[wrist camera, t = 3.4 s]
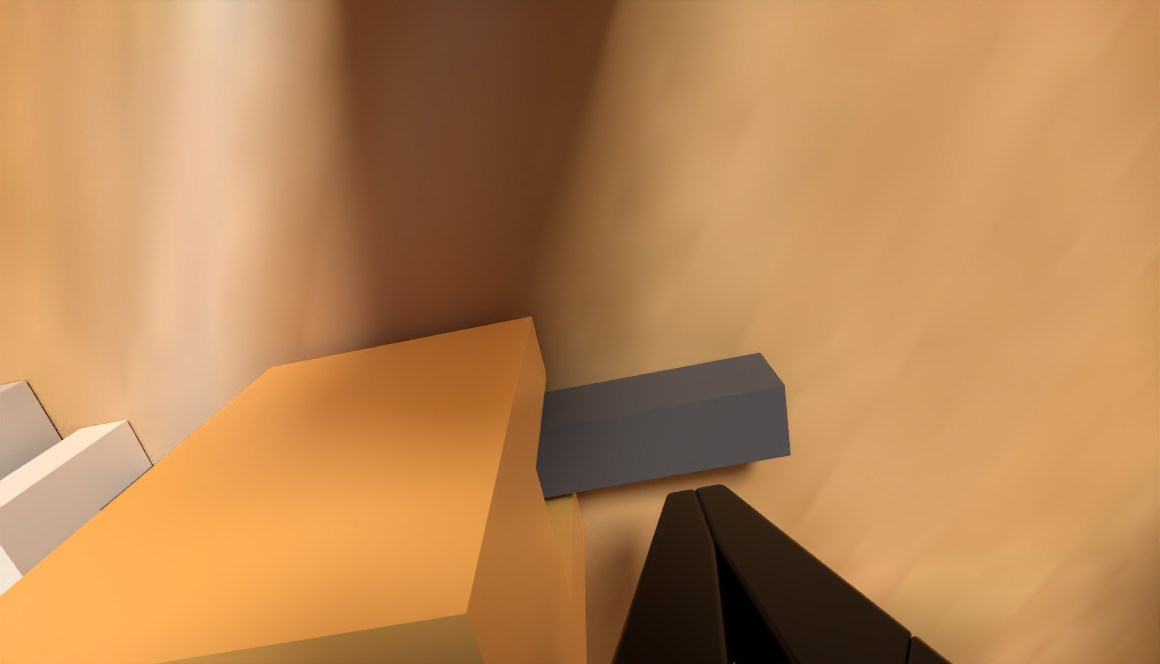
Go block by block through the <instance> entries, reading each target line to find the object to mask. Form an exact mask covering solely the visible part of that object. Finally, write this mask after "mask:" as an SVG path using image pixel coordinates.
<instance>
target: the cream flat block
mask: <svg viewBox="0 0 1160 664" xmlns="http://www.w3.org/2000/svg"><path fill="white" fill-rule="evenodd" d="M151 466H152V465H151V463H150V461H149V459H148V458H147V456H146V454H145V452H144V450H143V449H142V447H141V445H140V443H139V441H138V440H137V438H136V436H135V434H134V432H133V431H132V429H131V427H130V425H129V423H128V422H127V420H123V421H118V422H113V423H108V424H103V425H97V426H92V427H87V428H82V429H79V430H78V431H76V432H75V433H73V434H71V435H70V436H68V437H67V438H65V439H64V440H62V441H61V442H59V443H58V444H56V445H54V446H53V447H51V448H50V449H48V450H47V451H45V452H44V453H42V454H41V455H39V456H37V457H36V458H34V459H33V460H31V461H30V462H28V463H27V464H25V465H23V466H22V467H20V468H19V469H17V470H16V471H14V472H13V473H11V474H10V475H8V476H6V477H5V478H3V479H2V480H0V596H1V595H2V594H3V593H4V592H6V591H7V590H8V589H9V588H10V587H11V586H13V585H14V584H15V583H16V582H17V581H19V580H20V579H21V578H22V577H23V576H24V575H26V574H27V573H28V572H29V571H30V570H32V569H33V568H34V567H35V566H36V565H37V564H39V563H40V562H41V561H42V560H43V559H45V558H46V557H47V556H48V555H49V554H51V553H52V552H53V551H54V550H55V549H56V548H58V547H59V546H60V545H61V544H62V543H64V542H65V541H66V540H67V539H68V538H69V537H71V536H72V535H73V534H74V533H75V532H77V531H78V530H79V529H80V528H81V527H82V526H84V525H85V524H86V523H87V522H88V521H90V520H91V519H92V518H93V517H94V516H95V515H97V514H98V513H99V512H100V509H101V508H103V507H104V506H105V505H106V504H107V503H109V502H110V501H111V500H112V499H113V498H114V497H116V496H117V495H118V494H119V493H120V492H122V491H123V490H124V489H125V488H126V487H128V486H129V485H130V484H131V483H132V482H133V481H135V480H136V479H137V478H138V477H139V476H141V475H142V474H143V473H144V472H145V471H147V470H148V469H149V468H150V467H151Z"/></svg>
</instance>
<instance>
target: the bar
mask: <svg viewBox="0 0 1160 664" xmlns="http://www.w3.org/2000/svg"><path fill="white" fill-rule="evenodd" d="M789 455H791V453H790V442H789V430H788V419H787V407H786V396H785V385H784V384H783V383H782V381H781V380H780V379H779V377H778V376H777V375H776V373H775V372H774V371H773V369H772V368H771V367H770V365H769V364H768V363H767V361H766V360H765V359H764V357H763V356H762V354H761V353H757V354H751V355H746V356H740V357H735V358H730V359H724V360H719V361H714V362H708V363H703V364H697V365H692V366H687V367H681V368H676V369H670V370H665V371H660V372H654V373H649V374H644V375H638V376H633V377H627V378H622V379H617V380H611V381H606V382H601V383H595V384H590V385H584V386H579V387H574V388H568V389H563V390H558V391H552V392H547V393H544V401H543V410H542V418H541V427H540V435H539V444H538V452H537V461H536V471H537V474H538V478H539V482H540V485H541V489H542V492H543V496H544V498H547V497H552V496H558V495H564V494H570V493H576V492H581V491H587V490H593V489H599V488H605V487H610V486H616V485H622V484H628V483H633V482H639V481H645V480H651V479H657V478H662V477H668V476H674V475H680V474H685V473H691V472H697V471H703V470H709V469H714V468H720V467H726V466H732V465H737V464H743V463H749V462H755V461H761V460H766V459H772V458H778V457H784V456H789ZM154 466H155V465H154ZM152 467H153V466H151V467H150V468H149V469H148V470H147V471H149V470H150V469H151V468H152ZM147 471H145V472H144V473H143V474H142V475H141V476H139V477H138V478H137V479H136V480H135V481H133V482H132V483H131V484H130V485H129V486H128V487H126V488H125V489H124V490H123V491H122V492H120V493H119V494H118V495H117V496H116V497H114V498H113V499H112V500H111V501H110V502H109V503H107V504H106V505H105V506H104V507H103V508H101V509H100V511H101V510H103V509H104V508H105V507H106V506H107V505H108V504H110V503H111V502H112V501H113V500H114V499H116V498H117V497H118V496H119V495H120V494H121V493H123V492H124V491H125V490H126V489H127V488H129V487H130V486H131V485H132V484H133V483H134V482H136V481H137V480H138V479H139V478H140V477H142V476H143V475H144V474H145V473H146V472H147Z"/></svg>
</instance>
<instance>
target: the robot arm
mask: <svg viewBox="0 0 1160 664" xmlns="http://www.w3.org/2000/svg"><path fill="white" fill-rule="evenodd" d="M734 663H735V664H952V663H951V662H949V661H948V660H947V659H945V658H944V657H943V656H941V655H940V654H939V653H938V652H936V651H935V650H934V649H932V648H931V647H930V646H929V645H927V644H926V643H925V642H924V641H922V640H921V639H920V638H918V637H917V636H913V637H912V634H911V632H910V631H909V630H908V629H907V628H905V627H904V626H903V625H902V624H900V623H899V622H898V621H896V620H895V619H894V618H893V617H891V616H890V615H889V614H887V613H886V612H885V611H884V610H882V609H881V608H880V607H879V606H877V605H876V604H875V603H873V602H872V601H871V600H870V599H868V598H867V597H866V596H865V595H863V594H862V593H861V592H859V591H858V590H857V589H856V588H854V587H853V586H852V585H851V584H849V583H848V582H847V581H845V580H844V579H843V578H842V577H840V576H839V575H838V574H837V573H835V572H834V571H833V570H831V569H830V568H829V567H828V566H826V565H825V564H824V563H823V562H821V561H820V560H819V559H817V558H816V557H815V556H814V555H812V554H811V553H810V552H809V551H807V550H806V549H805V548H803V547H802V546H801V545H800V544H798V543H797V542H796V541H795V540H793V539H792V538H791V537H789V536H788V535H787V534H786V533H784V532H783V531H782V530H780V529H779V528H778V527H777V526H775V525H774V524H773V523H772V522H770V521H769V520H768V519H766V518H765V517H764V516H763V515H761V514H760V513H759V512H758V511H756V510H755V509H754V508H752V507H751V506H750V505H749V504H747V503H746V502H745V501H744V500H742V499H741V498H740V497H738V496H737V495H736V494H735V493H733V492H732V491H731V490H730V489H728V488H727V487H726V486H724V485H713V486H707V487H702V488H698V489H696V491H695V490H693V489H690V490H684V491H679V492H673V493H669V494H668V495H667V497H666V500H665V503H664V506H663V509H662V512H661V515H660V518H659V521H658V524H657V527H656V530H655V533H654V536H653V539H652V542H651V545H650V548H649V551H648V554H647V557H646V560H645V563H644V566H643V569H642V572H641V575H640V578H639V581H638V584H637V587H636V590H635V593H634V596H633V599H632V602H631V605H630V608H629V611H628V614H627V617H626V620H625V623H624V626H623V629H622V632H621V635H620V638H619V641H618V644H617V647H616V650H615V653H614V656H613V659H612V662H611V664H734Z"/></svg>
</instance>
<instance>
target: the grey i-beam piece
mask: <svg viewBox="0 0 1160 664" xmlns="http://www.w3.org/2000/svg"><path fill="white" fill-rule="evenodd" d="M61 441H62V440H61V438H60V437H59V435H58V433H57V432H56V430H55V428H54V427H53V425H52V423H51V422H50V420H49V419H48V417H47V415H46V414H45V412H44V410H43V409H42V407H41V405H40V404H39V402H38V400H37V399H36V397H35V396H34V394H33V392H32V391H31V389H30V387H29V386H28V384H27V382H26V381H20V382H15V383H10V384H5V385H0V480H2V479H3V478H5V477H6V476H8V475H10V474H11V473H13V472H14V471H16V470H17V469H19V468H20V467H22V466H23V465H25V464H27V463H28V462H30V461H31V460H33V459H34V458H36V457H37V456H39V455H41V454H42V453H44V452H45V451H47V450H48V449H50V448H51V447H53V446H54V445H56V444H58V443H59V442H61Z"/></svg>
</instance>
